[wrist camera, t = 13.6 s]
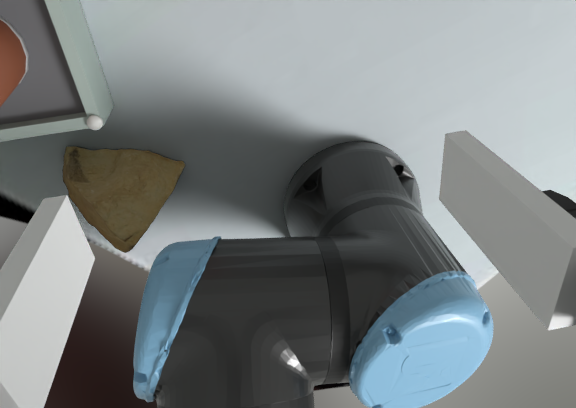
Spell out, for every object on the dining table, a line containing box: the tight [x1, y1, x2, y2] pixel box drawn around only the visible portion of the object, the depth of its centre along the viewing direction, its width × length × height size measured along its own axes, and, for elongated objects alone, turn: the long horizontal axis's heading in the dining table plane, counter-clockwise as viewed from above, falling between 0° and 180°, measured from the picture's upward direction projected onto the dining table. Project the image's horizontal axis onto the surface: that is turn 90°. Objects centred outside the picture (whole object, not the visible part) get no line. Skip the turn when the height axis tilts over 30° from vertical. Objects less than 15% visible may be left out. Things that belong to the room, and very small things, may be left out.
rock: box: [63, 146, 185, 253], centre depth 42 cm, size 11×9×10 cm
